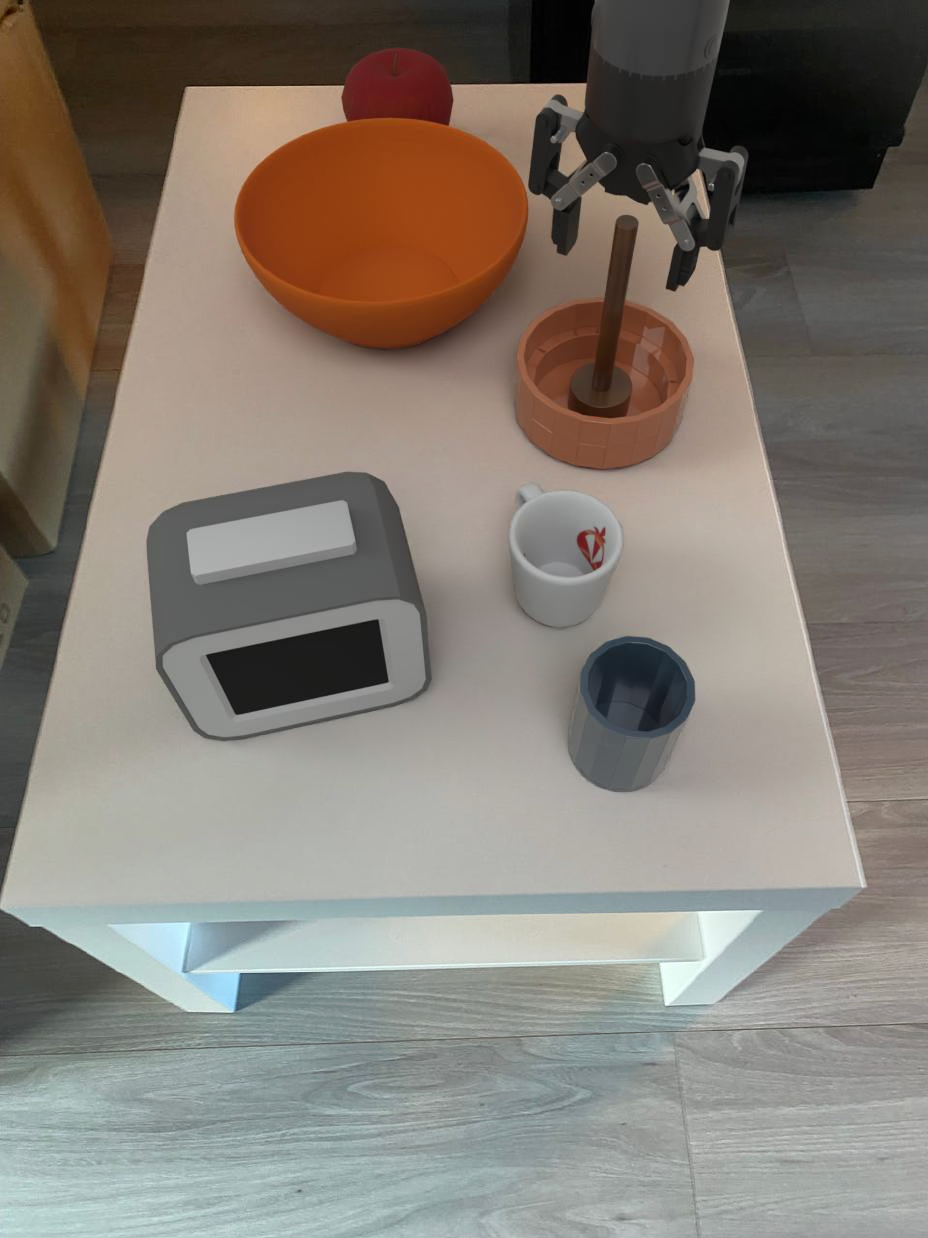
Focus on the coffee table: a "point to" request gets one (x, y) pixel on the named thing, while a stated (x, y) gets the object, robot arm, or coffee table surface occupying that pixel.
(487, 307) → the coffee table surface
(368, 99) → the apple
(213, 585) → the alarm clock
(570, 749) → the utensil crock
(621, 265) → the wooden plunger
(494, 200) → the bowl
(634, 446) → the mixing bowl
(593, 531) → the cup
